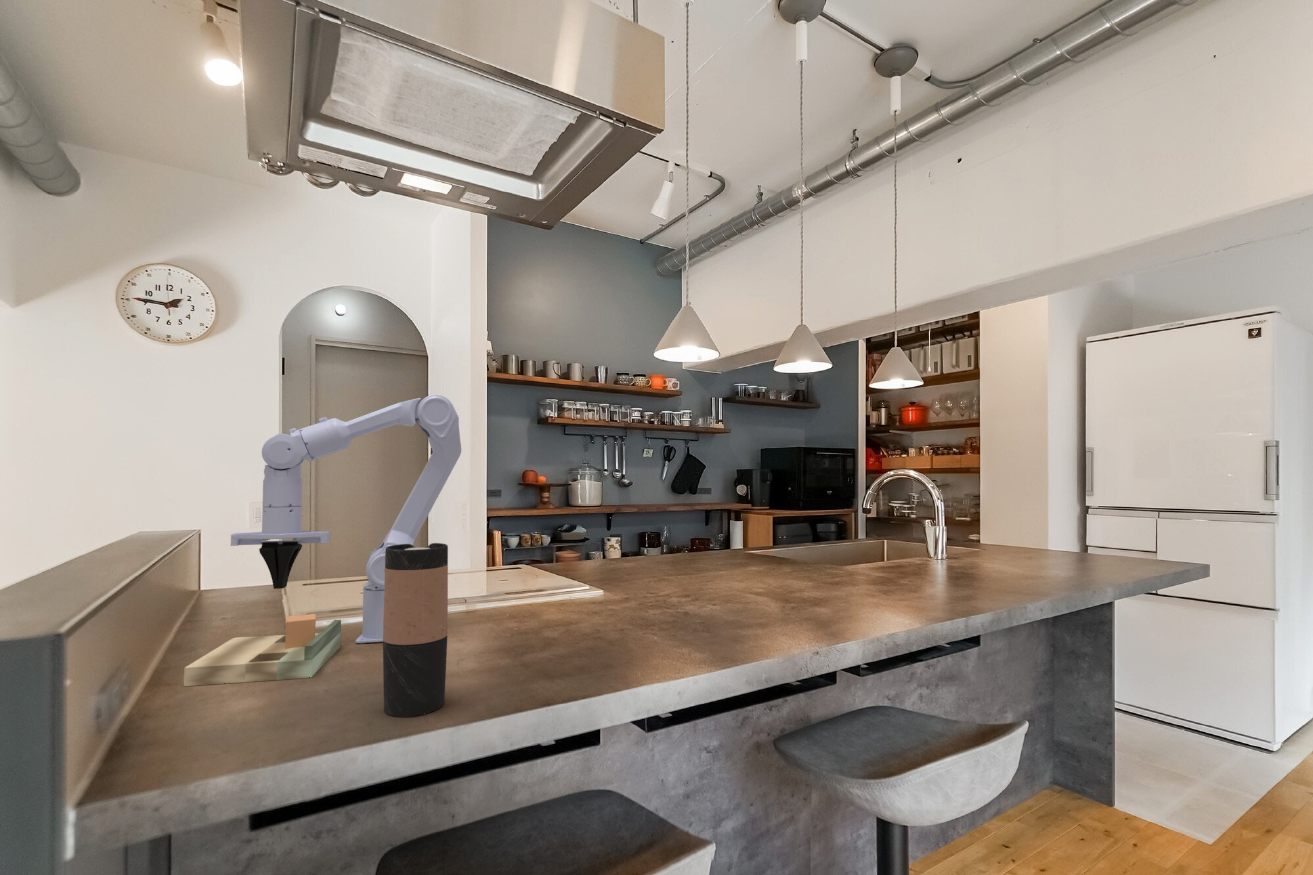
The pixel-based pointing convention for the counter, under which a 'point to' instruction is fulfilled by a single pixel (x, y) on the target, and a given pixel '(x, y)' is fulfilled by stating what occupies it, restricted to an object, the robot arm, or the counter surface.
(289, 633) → the block
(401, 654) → the travel mug
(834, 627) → the counter surface
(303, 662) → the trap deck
